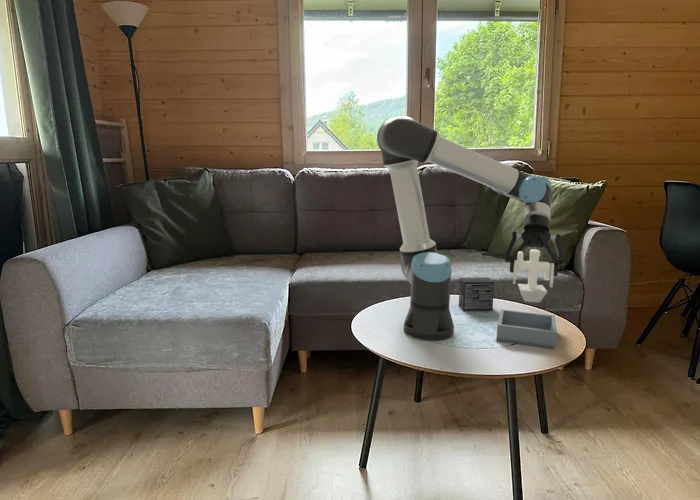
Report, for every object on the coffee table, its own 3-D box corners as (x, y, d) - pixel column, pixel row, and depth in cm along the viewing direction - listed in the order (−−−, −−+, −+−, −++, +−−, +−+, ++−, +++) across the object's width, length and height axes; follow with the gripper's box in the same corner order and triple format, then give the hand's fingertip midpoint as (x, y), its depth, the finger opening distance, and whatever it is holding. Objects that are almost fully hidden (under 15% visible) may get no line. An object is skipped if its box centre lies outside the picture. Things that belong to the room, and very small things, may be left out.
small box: (486, 305, 179) (489, 276, 177) (493, 311, 173) (495, 281, 170) (457, 305, 178) (459, 276, 176) (462, 311, 172) (464, 281, 170)
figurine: (550, 304, 144) (554, 253, 141) (515, 302, 146) (519, 252, 142) (545, 296, 151) (550, 248, 147) (512, 295, 153) (516, 246, 149)
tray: (496, 341, 146) (497, 325, 145) (499, 324, 160) (500, 309, 159) (555, 349, 141) (557, 332, 140) (553, 330, 155) (554, 315, 154)
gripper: (574, 229, 155) (572, 293, 143) (499, 225, 162) (492, 285, 151) (577, 215, 149) (576, 280, 137) (499, 211, 156) (492, 273, 145)
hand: (532, 283), depth 144 cm, fingers closed on figurine, 9 cm apart
